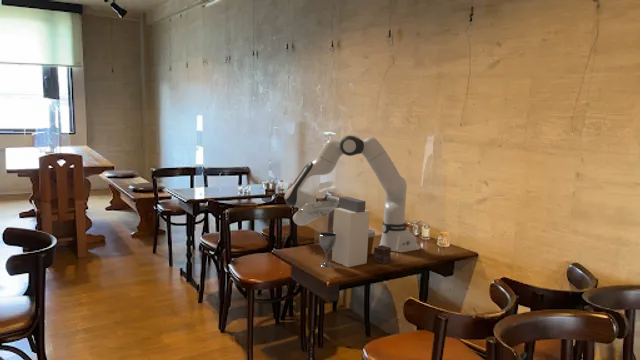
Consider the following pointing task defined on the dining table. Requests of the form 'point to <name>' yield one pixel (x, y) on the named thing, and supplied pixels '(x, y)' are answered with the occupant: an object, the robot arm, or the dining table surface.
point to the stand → (350, 232)
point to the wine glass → (327, 245)
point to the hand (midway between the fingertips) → (328, 201)
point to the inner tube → (332, 199)
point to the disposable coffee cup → (370, 241)
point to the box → (382, 254)
